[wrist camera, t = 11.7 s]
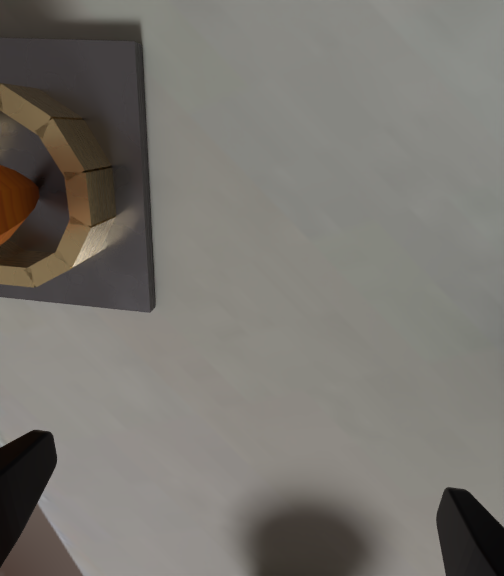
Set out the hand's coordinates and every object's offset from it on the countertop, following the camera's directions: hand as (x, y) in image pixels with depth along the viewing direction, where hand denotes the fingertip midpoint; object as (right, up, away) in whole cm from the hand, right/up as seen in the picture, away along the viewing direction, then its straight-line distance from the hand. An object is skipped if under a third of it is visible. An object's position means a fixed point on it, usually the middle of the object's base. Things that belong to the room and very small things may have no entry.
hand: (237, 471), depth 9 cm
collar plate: (-11, +10, +12) cm, 19 cm away
